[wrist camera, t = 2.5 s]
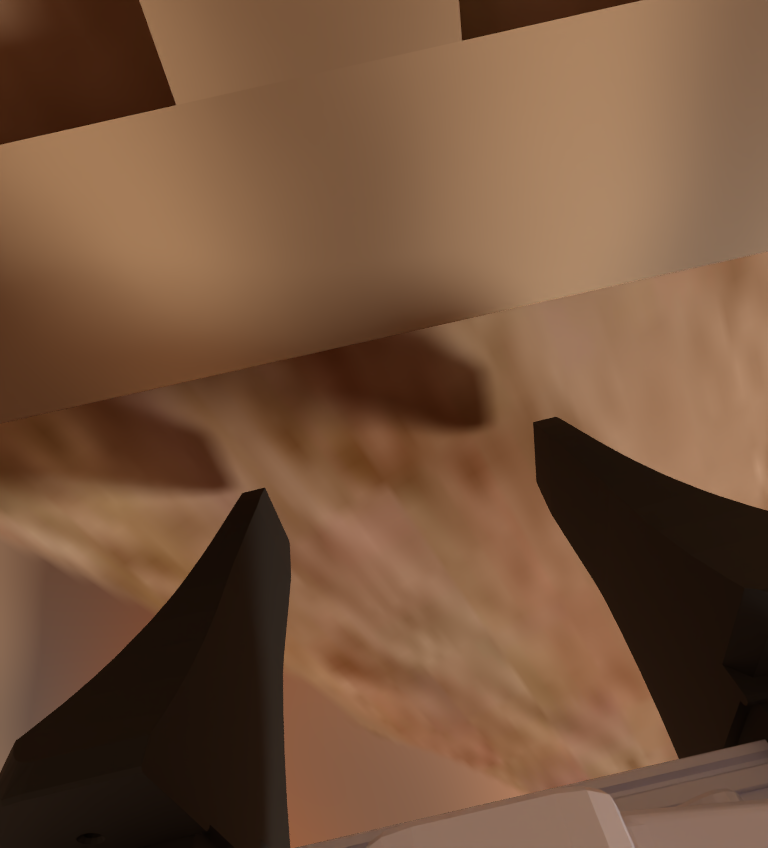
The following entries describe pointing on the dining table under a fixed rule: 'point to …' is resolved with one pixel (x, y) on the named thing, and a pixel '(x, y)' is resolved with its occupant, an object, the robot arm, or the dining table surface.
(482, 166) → the t block
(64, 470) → the dining table surface
